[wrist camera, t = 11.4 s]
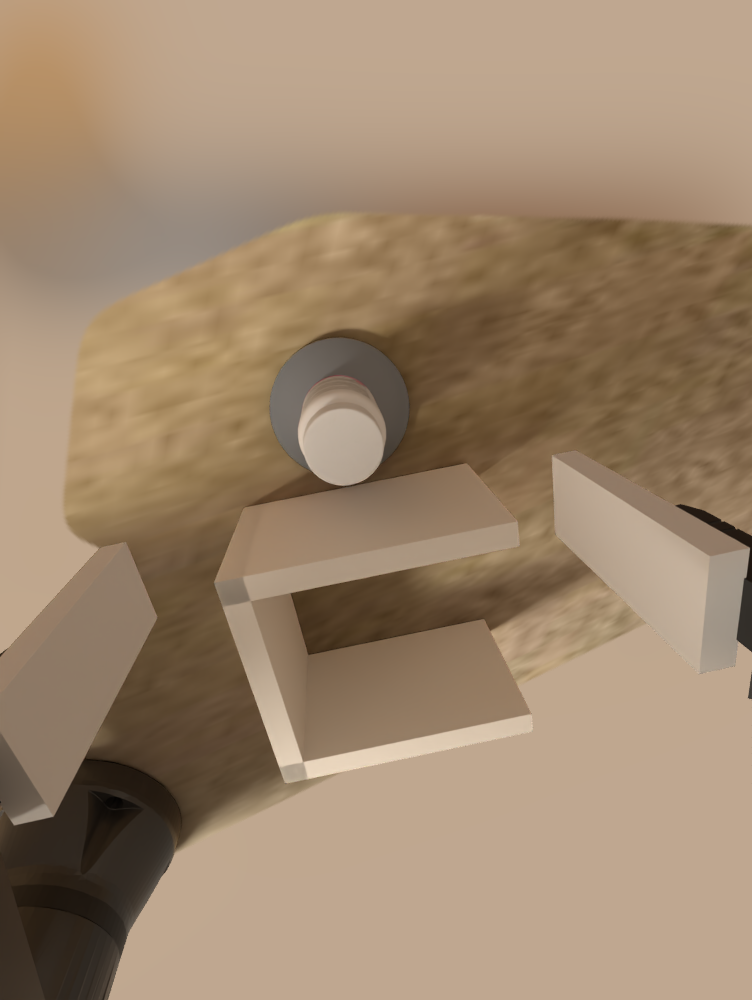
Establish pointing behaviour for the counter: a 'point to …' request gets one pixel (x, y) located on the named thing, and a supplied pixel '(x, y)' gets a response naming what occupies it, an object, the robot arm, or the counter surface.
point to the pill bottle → (341, 430)
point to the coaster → (331, 361)
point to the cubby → (380, 664)
